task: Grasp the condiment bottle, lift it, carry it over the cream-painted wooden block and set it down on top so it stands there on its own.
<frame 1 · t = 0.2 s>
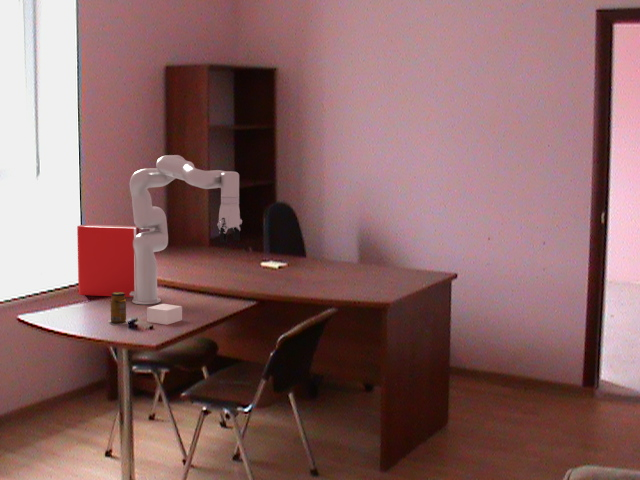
hand: (229, 241, 387), 31 cm above the table, fingers open, 9 cm apart
cream block: (164, 321, 376), on the table
book: (108, 294, 429), on the table
condiment: (118, 323, 371), on the table
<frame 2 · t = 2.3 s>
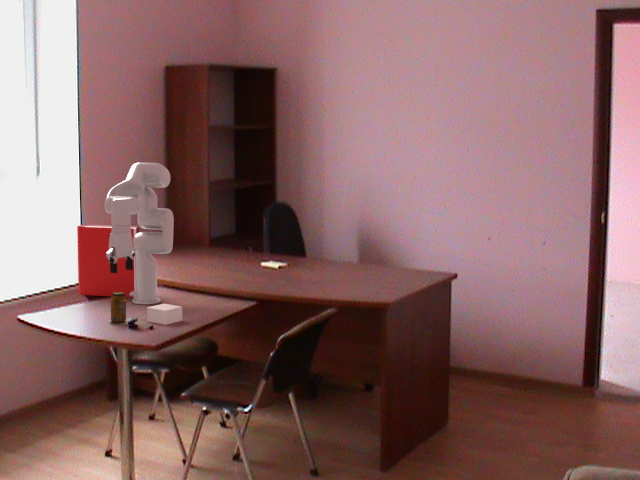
hand: (121, 271, 369), 21 cm above the table, fingers open, 9 cm apart
nothing on the table moved.
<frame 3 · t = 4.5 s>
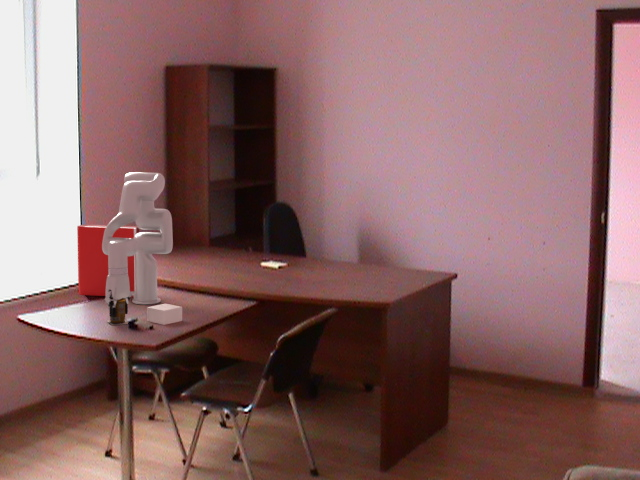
hand: (118, 314, 371), 3 cm above the table, fingers closed on condiment, 6 cm apart
condiment: (117, 323, 371), on the table, touching gripper
everything else where it was.
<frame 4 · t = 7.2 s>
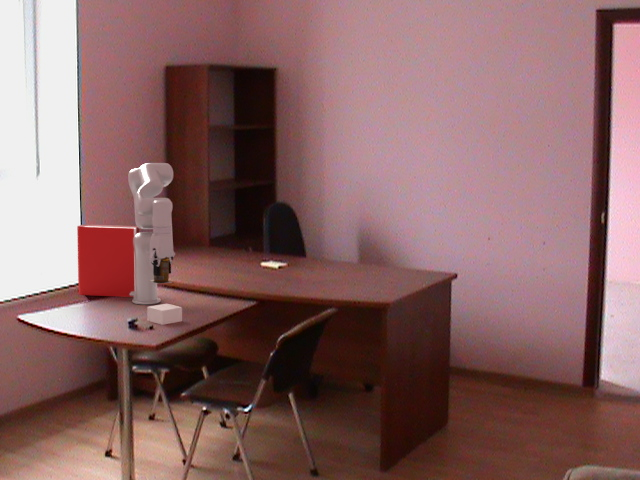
hand: (162, 274, 373), 19 cm above the table, fingers closed on condiment, 6 cm apart
condiment: (161, 282, 373), point 16 cm above the table, touching gripper
everything else where it was.
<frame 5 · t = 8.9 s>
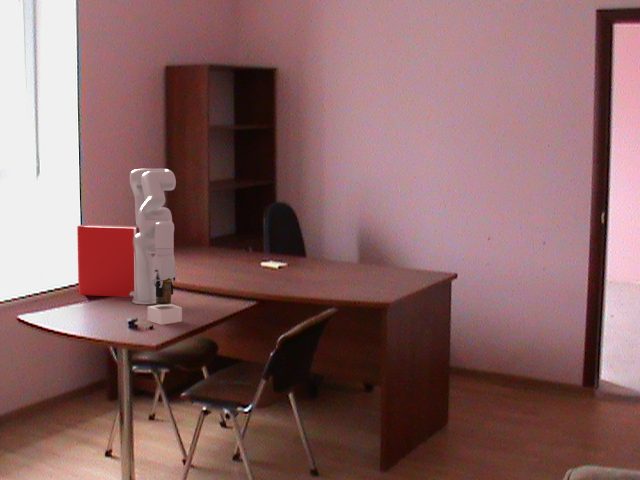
hand: (164, 295, 374), 11 cm above the table, fingers closed on condiment, 6 cm apart
condiment: (163, 303, 374), point 7 cm above the table, touching gripper
when the fingers open (10 cm above the table, at t = 9.9 s): condiment drops 1 cm, resting on cream block.
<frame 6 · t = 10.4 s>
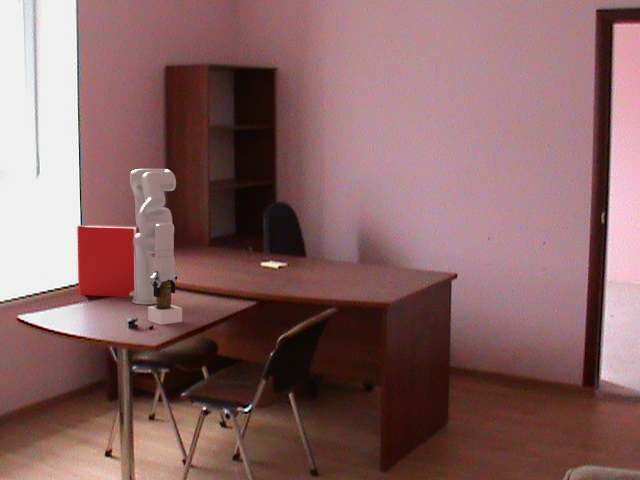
hand: (164, 294, 374), 11 cm above the table, fingers open, 9 cm apart
cream block: (165, 321, 375), on the table, touching condiment
condiment: (163, 308, 374), point 5 cm above the table, touching cream block
everything else where it was.
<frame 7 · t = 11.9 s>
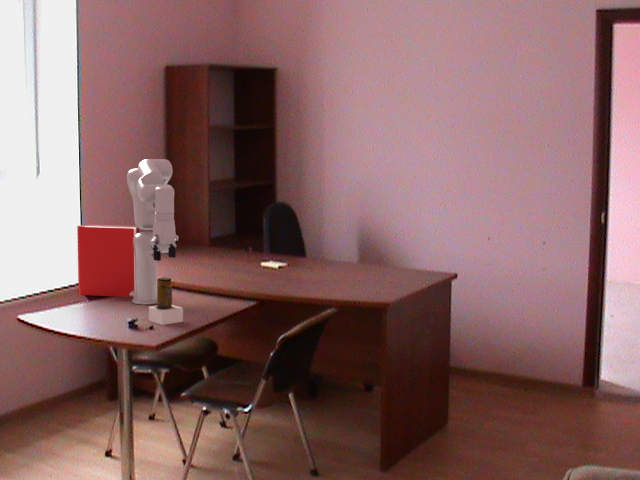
hand: (164, 258, 374), 25 cm above the table, fingers open, 9 cm apart
nothing on the table moved.
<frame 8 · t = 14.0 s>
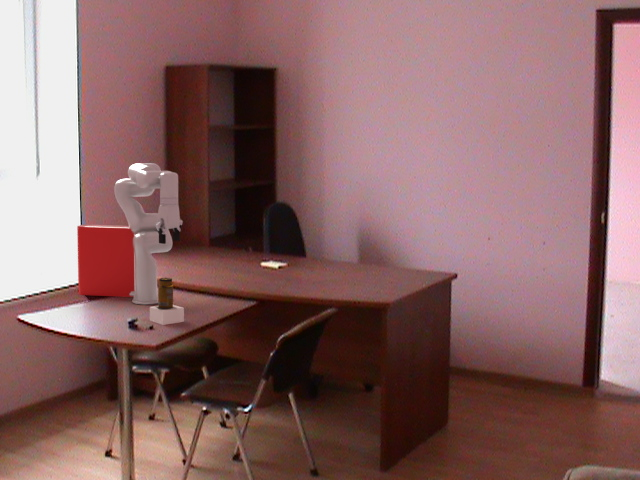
hand: (169, 242, 387), 30 cm above the table, fingers open, 9 cm apart
at the end: condiment inside the target area on the cream block (0.9 cm from its centre), point 5.8 cm above the cream block's base; condiment tilted 0°; the gripper is holding nothing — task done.
